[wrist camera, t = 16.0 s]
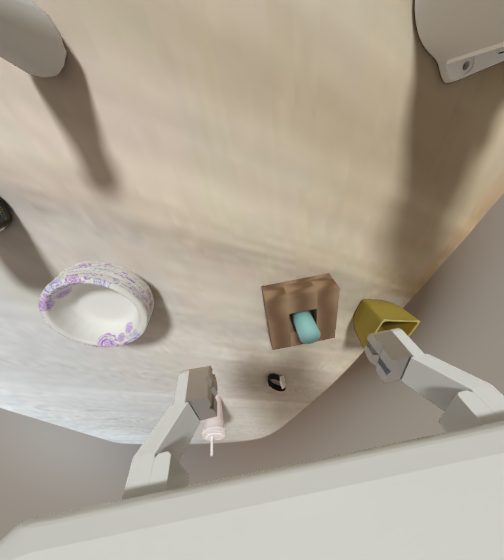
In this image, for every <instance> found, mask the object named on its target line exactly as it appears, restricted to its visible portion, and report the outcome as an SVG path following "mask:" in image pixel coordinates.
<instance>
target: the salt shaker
mask: <svg viewBox="0 0 504 560" xmlns="http://www.w3.org/2000/svg"><path fill="white" fill-rule="evenodd" d="M66 56H67V51H66V49H65V47H64V44H63V41H62V38H61V35H60V32H59V31H58V29H57V28H56V26H55V25H54V23H53V21H52V20H51V18H50V17H49V15H48V14H47V13H46V12H45V11H43V10H42V9H41V8H40V7H39V6H38V5H37V4H35V3H34V2H33V1H32V0H0V57H2V58H3V59H5V60H7V61H8V62H10V63H12V64H13V65H15V66H17V67H18V68H20V69H22V70H23V71H25V72H27V73H28V74H32V75H35V76H39V77H43V78H46V77H51V76H56V75H58V74H59V73H60V72H61V70H62V68H63V67H64V64H65V59H66Z"/></svg>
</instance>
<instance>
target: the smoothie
mask: <svg viewBox="0 0 504 560" xmlns="http://www.w3.org/2000/svg"><path fill="white" fill-rule="evenodd" d="M215 398H216V401H217V417H213V418H209V419H205V424H204V430H203V431H202V438H203V439H205V440H208V441H211V455H210V456H211V457H212V456H213V441H216V440H220V439H222V438H224V437H225V436H226V429H225V426H224V418H223V410H222V403H221V397H219V396H216V397H215Z"/></svg>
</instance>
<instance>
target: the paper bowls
mask: <svg viewBox="0 0 504 560" xmlns="http://www.w3.org/2000/svg"><path fill="white" fill-rule="evenodd" d="M39 309H40V312H41V315H42V317H43V318H44V320H45V321H46V322H47V324H48V325H49V326H50V327H51V328H53V329H54V330H55V331H56V332H58V333H59V334H61V335H62V336H64V337H66V338H68V339H70V340H73V341H75V342H78V343H81V344H85V345H89V346H96V347H117V346H121V345H125V344H129V343H131V342H133V341H135V340H136V339H138V338H139V337H140V336H141V335H142V334H143V333H144V332H145V331H146V329H147V326H148V323H149V321H150V318H151V315H152V312H153V309H154V298H153V295H152V292H151V290H150V288H149V287H148V285H147V284H146V283H145V282H144V281H143V280H142V279H141V278H140V277H138V276H137V275H136V274H134V273H132V272H131V271H129V270H127V269H125V268H123V267H120V266H117V265H114V264H110V263H106V262H96V261H89V262H82V263H77V264H74V265H72V266H70V267H68V268H67V269H65V270H64V271H63V272H62V273H60V274H59V275H58V276H57V277H56V278H55V279H54V280H53V281H52V282H50V283H49V284H48V285H47V286H46V287H45V288H44V290H43V291H42V293H41V295H40V299H39Z"/></svg>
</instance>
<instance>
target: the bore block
mask: <svg viewBox="0 0 504 560" xmlns="http://www.w3.org/2000/svg"><path fill="white" fill-rule="evenodd" d="M261 287H262V293H263V300H264V306H265V312H266V319H267V325H268V332H269V336H270V340H271V345H272V349H273V350H275V349H280V348H285V347H290V346H295V345H300V344H304V343H302V342H301V341H300V338H299V336H298V333H297V331H296V328H295V325H294V323H293V320H292V317H291V315H290V314H293V313H298V312H303V311H308V310H309V311H310V313H311V315H312V317H313V319H314V321H315V323H316V325H317V327H318V329H319V331H320V333H321V336H320V338H319V339H318V340H317V341H320V340H325V339H330V338H335V329H336V319H337V309H338V299H339V289H340V288H339V286H338V285H337V284H336V282H335V281H334V280H333V278H332V277H331V276H330V275H329V273H328V274H323V275H318V276H313V277H308V278H303V279H297V280H292V281H287V282H282V283H277V284H272V285H266V286H261Z"/></svg>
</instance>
